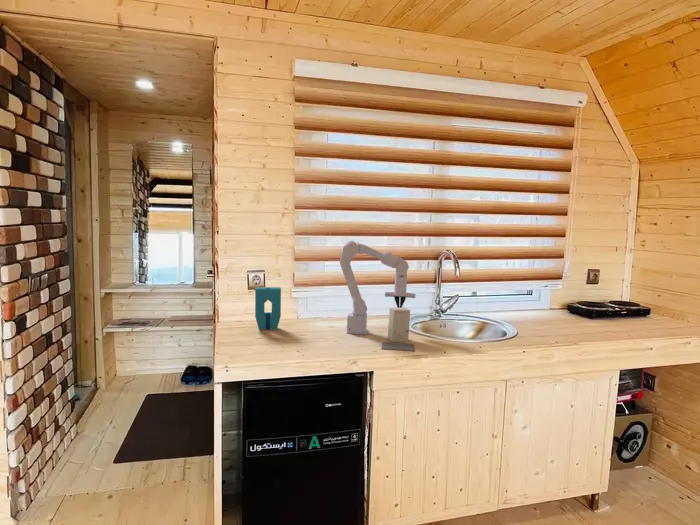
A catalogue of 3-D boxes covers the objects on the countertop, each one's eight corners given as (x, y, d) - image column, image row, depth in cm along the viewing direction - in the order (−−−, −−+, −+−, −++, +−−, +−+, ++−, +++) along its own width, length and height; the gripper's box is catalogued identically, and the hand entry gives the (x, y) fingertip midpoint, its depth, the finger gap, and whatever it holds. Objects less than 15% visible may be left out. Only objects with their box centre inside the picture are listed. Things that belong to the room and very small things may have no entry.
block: (280, 327, 226) (280, 287, 224) (280, 330, 221) (281, 289, 219) (255, 327, 224) (255, 287, 222) (255, 330, 219) (255, 289, 217)
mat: (381, 349, 197) (381, 348, 197) (382, 342, 207) (382, 341, 207) (414, 351, 196) (414, 350, 196) (413, 344, 205) (413, 343, 205)
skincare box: (392, 342, 207) (393, 310, 205) (387, 338, 213) (388, 307, 211) (409, 341, 210) (410, 309, 208) (403, 337, 215) (405, 306, 213)
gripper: (415, 283, 223) (414, 310, 225) (385, 282, 225) (384, 309, 226) (416, 286, 216) (414, 314, 218) (385, 284, 218) (384, 312, 219)
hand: (399, 311), depth 222 cm, fingers closed
